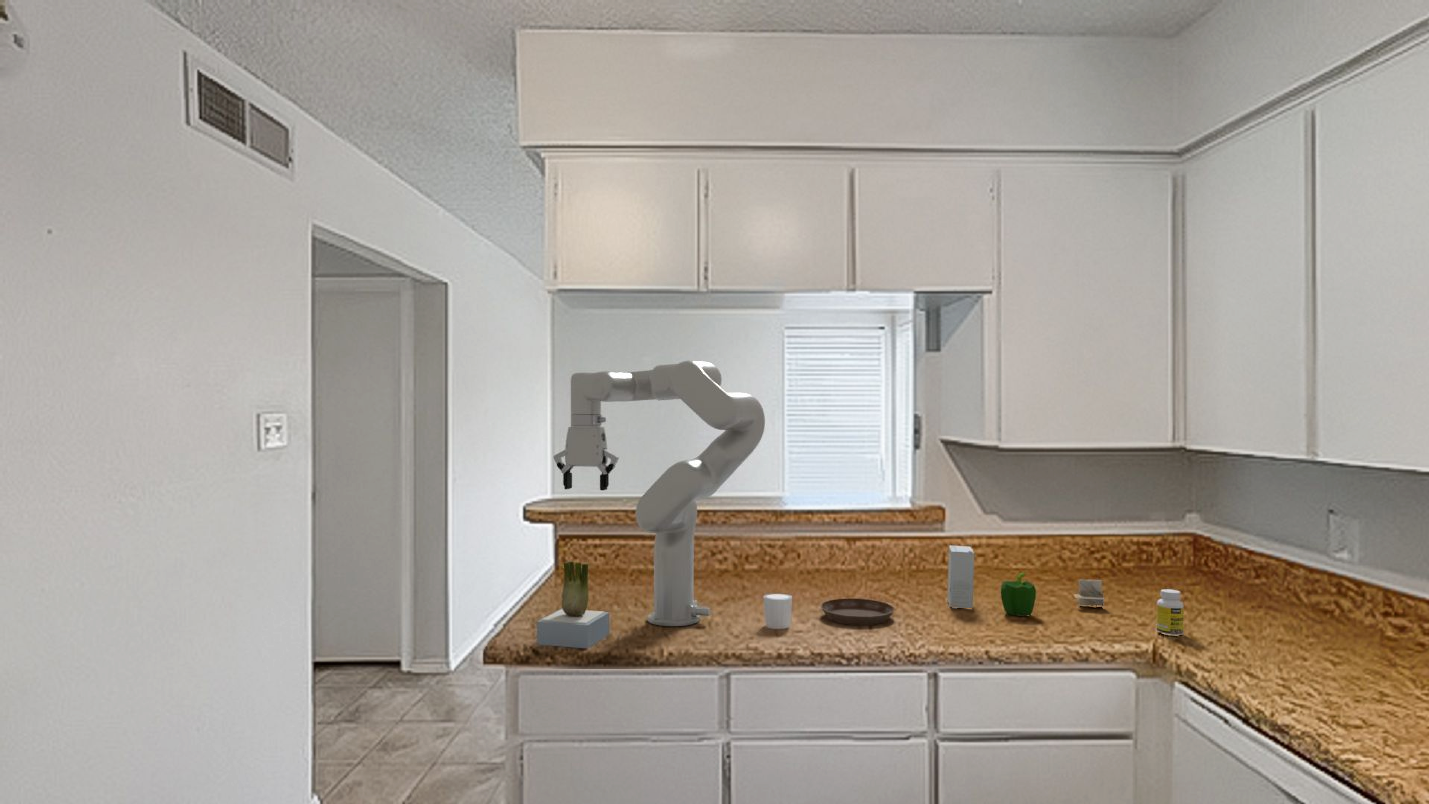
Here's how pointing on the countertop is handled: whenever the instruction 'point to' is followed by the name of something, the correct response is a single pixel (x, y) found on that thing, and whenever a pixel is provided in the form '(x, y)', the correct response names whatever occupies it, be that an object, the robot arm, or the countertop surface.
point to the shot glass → (777, 610)
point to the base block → (573, 629)
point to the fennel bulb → (575, 589)
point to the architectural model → (1090, 592)
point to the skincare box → (960, 576)
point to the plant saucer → (857, 611)
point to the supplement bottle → (1170, 612)
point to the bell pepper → (1018, 596)
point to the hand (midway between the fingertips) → (585, 489)
